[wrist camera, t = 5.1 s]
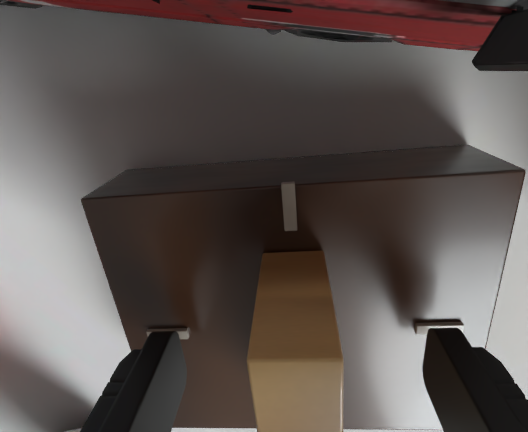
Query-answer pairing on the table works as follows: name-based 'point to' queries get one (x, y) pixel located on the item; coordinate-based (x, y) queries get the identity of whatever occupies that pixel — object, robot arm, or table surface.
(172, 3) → the toy car
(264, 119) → the table surface
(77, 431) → the headphones
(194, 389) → the handle panel
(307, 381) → the wooden block
